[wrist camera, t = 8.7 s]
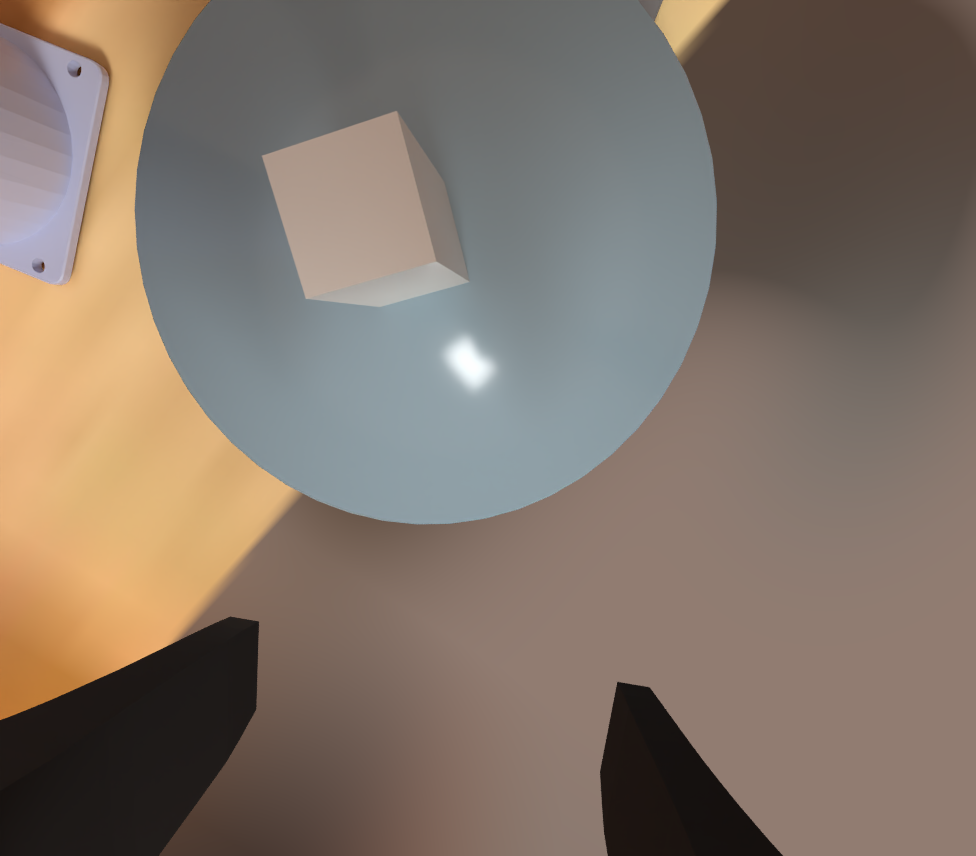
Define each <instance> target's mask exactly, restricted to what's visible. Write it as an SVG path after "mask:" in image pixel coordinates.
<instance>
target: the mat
mask: <svg viewBox="0 0 976 856" xmlns="http://www.w3.org/2000/svg"><path fill="white" fill-rule="evenodd" d="M638 1H639V2H640V4H641V5H642V6H643V8H644V9H645V10H646V12H647V13H648V14H649V15H650V17H651V18H652V19H653V21H655V18H656V16H657V13H658V11H659V9H660V6H661V4H662V1H663V0H638Z"/></svg>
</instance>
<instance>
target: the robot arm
mask: <svg viewBox="0 0 976 856" xmlns="http://www.w3.org/2000/svg"><path fill="white" fill-rule="evenodd" d="M80 67H81V74H80V76H77V71H78V69H79V68H80ZM108 86H109V76H108V73H107V71H106V70H105V68H104V67H103V66H101V65H100V64H98V63H96V62H95V61H93V60H91V59H89V58H86V57H84V56H81V55H79V54H76V53H74V52H71V51H69V50H66V49H64V48H61V47H59V46H56V45H54V44H51V43H49V42H46V41H44V40H41V39H39V38H36V37H34V36H31V35H29V34H26V33H24V32H21V31H19V30H16V29H14V28H11V27H9V26H6V25H4V24H1V23H0V264H3V265H5V266H8V267H10V268H13V269H15V270H17V271H20V272H22V273H25V274H27V275H30V276H32V277H35V278H37V279H39V280H42V281H44V282H47V283H49V284H55V285H63V284H66V283H67V282H68V281H69V279H70V277H71V273H72V268H73V263H74V258H75V253H76V248H77V243H78V237H79V232H80V227H81V222H82V217H83V212H84V207H85V202H86V197H87V192H88V187H89V182H90V177H91V172H92V167H93V162H94V157H95V152H96V147H97V141H98V136H99V131H100V126H101V121H102V116H103V111H104V106H105V101H106V96H107V91H108ZM42 262H44V264H45V269H44V271H43V269H42ZM258 633H259V622H258V621H252V620H247V619H241V618H235V617H228V618H226V619H224V620H221V621H219V622H217V623H214V624H213V625H210V626H208V627H206V628H204V629H202V630H200V631H198V632H195V633H193V634H191V635H189V636H187V637H185V638H183V639H181V640H179V641H177V642H175V643H173V644H171V645H169V646H167V647H165V648H163V649H161V650H159V651H157V652H154V653H152V654H150V655H148V656H146V657H144V658H142V659H140V660H138V661H136V662H134V663H132V664H130V665H128V666H126V667H124V668H121V669H119V670H117V671H115V672H113V673H110V674H108V675H106V676H104V677H102V678H99V679H97V680H95V681H93V682H90V683H88V684H86V685H84V686H81V687H79V688H77V689H75V690H73V691H70V692H68V693H66V694H64V695H61V696H59V697H57V698H55V699H52V700H50V701H48V702H45V703H43V704H40V705H38V706H36V707H33V708H31V709H28V710H26V711H23V712H21V713H18V714H16V715H13V716H10V717H8V718H5V719H2V720H0V856H159V854H160V853H161V852H162V850H163V849H164V847H165V846H166V845H167V843H168V842H169V841H170V839H171V838H172V837H173V835H174V834H175V832H176V831H177V830H178V828H179V827H180V826H181V824H182V823H183V821H184V820H185V819H186V817H187V816H188V814H189V813H190V812H191V811H192V809H193V808H194V806H195V805H196V804H197V802H198V801H199V799H200V798H201V797H202V795H203V794H204V792H205V791H206V790H207V788H208V787H209V786H210V784H211V783H212V781H213V780H214V779H215V777H216V776H217V774H218V773H219V771H220V770H221V769H222V767H223V766H224V764H225V763H226V762H227V760H228V758H229V756H230V755H231V753H232V751H233V750H234V748H235V746H236V745H237V743H238V741H239V740H240V738H241V736H242V734H243V732H244V730H245V729H246V727H247V725H248V723H249V721H250V719H251V718H252V716H253V714H254V712H255V711H256V698H257V666H258V665H257V664H258ZM600 778H601V794H602V810H603V824H604V835H605V840H606V847H607V853H608V856H783V855H782V854H781V853H780V852H779V851H778V850H777V849H776V848H775V847H774V845H773V844H772V843H771V842H770V841H769V840H768V839H767V837H766V836H765V835H764V834H763V833H762V832H761V831H760V829H759V828H758V827H757V826H756V825H755V824H754V822H753V821H752V820H751V819H750V818H749V816H748V815H747V814H746V813H745V812H744V811H743V810H742V808H741V807H740V806H739V805H738V804H737V802H736V801H735V800H734V799H733V797H732V796H731V795H730V794H729V793H728V791H727V790H726V789H725V788H724V787H723V785H722V784H721V783H720V782H719V780H718V779H717V778H716V776H715V775H714V774H713V772H712V771H711V770H710V769H709V767H708V766H707V765H706V764H705V762H704V761H703V760H702V758H701V757H700V756H699V754H698V753H697V752H696V750H695V749H694V748H693V746H692V745H691V744H690V742H689V741H688V739H687V738H686V737H685V735H684V734H683V733H682V731H681V730H680V729H679V727H678V726H677V724H676V723H675V722H674V720H673V719H672V717H671V716H670V715H669V714H668V712H667V711H666V709H665V708H664V706H663V705H662V704H661V702H660V701H659V700H658V698H657V697H656V695H655V694H654V693H653V691H652V690H651V689H650V688H649V687H644V686H638V685H632V684H627V683H621V682H617V687H616V692H615V697H614V702H613V708H612V713H611V718H610V724H609V728H608V734H607V739H606V744H605V749H604V754H603V759H602V765H601V770H600Z"/></svg>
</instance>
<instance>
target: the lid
mask: <svg viewBox="0 0 976 856" xmlns="http://www.w3.org/2000/svg"><path fill="white" fill-rule="evenodd" d="M716 212H717V199H716V190H715V180H714V171H713V161H712V155H711V151H710V147H709V143H708V139H707V135H706V131H705V127H704V122H703V118H702V115H701V112H700V109H699V107H698V104H697V101H696V99H695V96H694V94H693V91H692V89H691V86H690V84H689V81H688V78H687V76H686V73H685V71H684V70H683V68H682V66H681V64H680V63H679V61H678V59H677V57H676V55H675V54H674V52H673V50H672V48H671V46H670V45H669V43H668V41H667V39H666V37H665V36H664V34H663V33H662V31H661V30H660V29H659V27H658V26H657V25H656V23H655V22H654V21H653V19H652V18H651V17H650V15H649V14H648V13H647V12H646V10H645V9H644V8H643V6H642V5H641V4H640V2H639V1H638V0H211V1H210V2H209V3H208V4H207V5H206V7H205V8H204V9H203V10H202V12H201V13H200V14H199V15H198V16H197V18H196V19H195V20H194V22H193V23H192V25H191V26H190V28H189V30H188V31H187V33H186V34H185V36H184V38H183V39H182V41H181V43H180V44H179V46H178V47H177V49H176V51H175V52H174V54H173V56H172V58H171V60H170V62H169V64H168V67H167V69H166V71H165V73H164V76H163V78H162V80H161V82H160V84H159V87H158V89H157V91H156V94H155V97H154V100H153V103H152V107H151V110H150V113H149V116H148V120H147V123H146V126H145V129H144V134H143V140H142V145H141V151H140V156H139V162H138V168H137V180H136V197H135V221H136V238H137V250H138V256H139V262H140V267H141V273H142V279H143V285H144V288H145V292H146V295H147V298H148V302H149V305H150V309H151V312H152V315H153V319H154V322H155V324H156V327H157V329H158V331H159V334H160V336H161V339H162V341H163V343H164V346H165V348H166V350H167V353H168V355H169V357H170V359H171V361H172V362H173V364H174V366H175V368H176V369H177V371H178V373H179V375H180V377H181V378H182V380H183V382H184V384H185V385H186V387H187V389H188V390H189V391H190V393H191V394H192V396H193V397H194V398H195V400H196V401H197V402H198V404H199V405H200V407H201V408H202V409H203V411H204V412H205V413H206V415H207V416H208V417H209V419H210V420H211V421H212V422H213V423H214V424H215V425H216V426H217V427H218V428H219V429H220V430H221V432H222V433H223V434H224V435H225V436H226V437H227V438H228V439H229V440H230V441H231V442H232V443H233V444H234V445H235V446H236V447H237V448H238V449H240V450H241V451H242V452H243V453H244V454H245V455H246V456H248V457H249V458H250V459H251V460H252V461H253V462H255V463H256V464H257V465H258V466H259V467H261V468H262V469H264V470H265V471H267V472H268V473H270V474H271V475H273V476H274V477H276V478H277V479H279V480H280V481H282V482H283V483H285V484H286V485H288V486H290V487H292V488H294V489H295V490H297V491H299V492H301V493H303V494H305V495H307V496H309V497H311V498H313V499H315V500H317V501H319V502H322V503H325V504H327V505H330V506H333V507H336V508H338V509H341V510H344V511H346V512H349V513H353V514H358V515H362V516H366V517H370V518H374V519H378V520H383V521H392V522H401V523H410V524H451V523H458V522H465V521H472V520H479V519H485V518H489V517H492V516H496V515H499V514H503V513H507V512H510V511H514V510H517V509H520V508H522V507H525V506H527V505H530V504H532V503H534V502H537V501H539V500H541V499H544V498H546V497H548V496H551V495H553V494H554V493H556V492H558V491H559V490H561V489H563V488H565V487H566V486H568V485H570V484H571V483H573V482H575V481H577V480H578V479H580V478H582V477H583V476H584V475H586V474H587V473H588V472H590V471H591V470H592V469H594V468H595V467H596V466H597V465H598V464H600V463H601V462H603V461H604V460H605V459H606V458H608V457H609V456H610V455H612V454H613V453H614V452H615V450H617V449H618V448H619V447H620V446H621V445H622V443H624V442H625V440H626V439H628V438H629V437H630V436H631V435H632V434H633V433H634V432H635V431H636V430H637V429H638V427H639V426H640V425H641V424H642V422H643V421H644V420H645V418H646V417H647V416H648V415H649V413H650V412H651V411H652V410H653V408H654V407H655V406H656V404H657V403H658V402H659V401H660V399H661V398H662V396H663V395H664V393H665V391H666V390H667V388H668V386H669V384H670V383H671V381H672V379H673V378H674V376H675V374H676V373H677V371H678V369H679V368H680V366H681V364H682V362H683V359H684V357H685V355H686V352H687V350H688V348H689V346H690V343H691V341H692V339H693V336H694V334H695V332H696V330H697V327H698V324H699V320H700V317H701V314H702V310H703V307H704V303H705V300H706V296H707V293H708V289H709V285H710V278H711V272H712V266H713V259H714V252H715V246H716Z"/></svg>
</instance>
